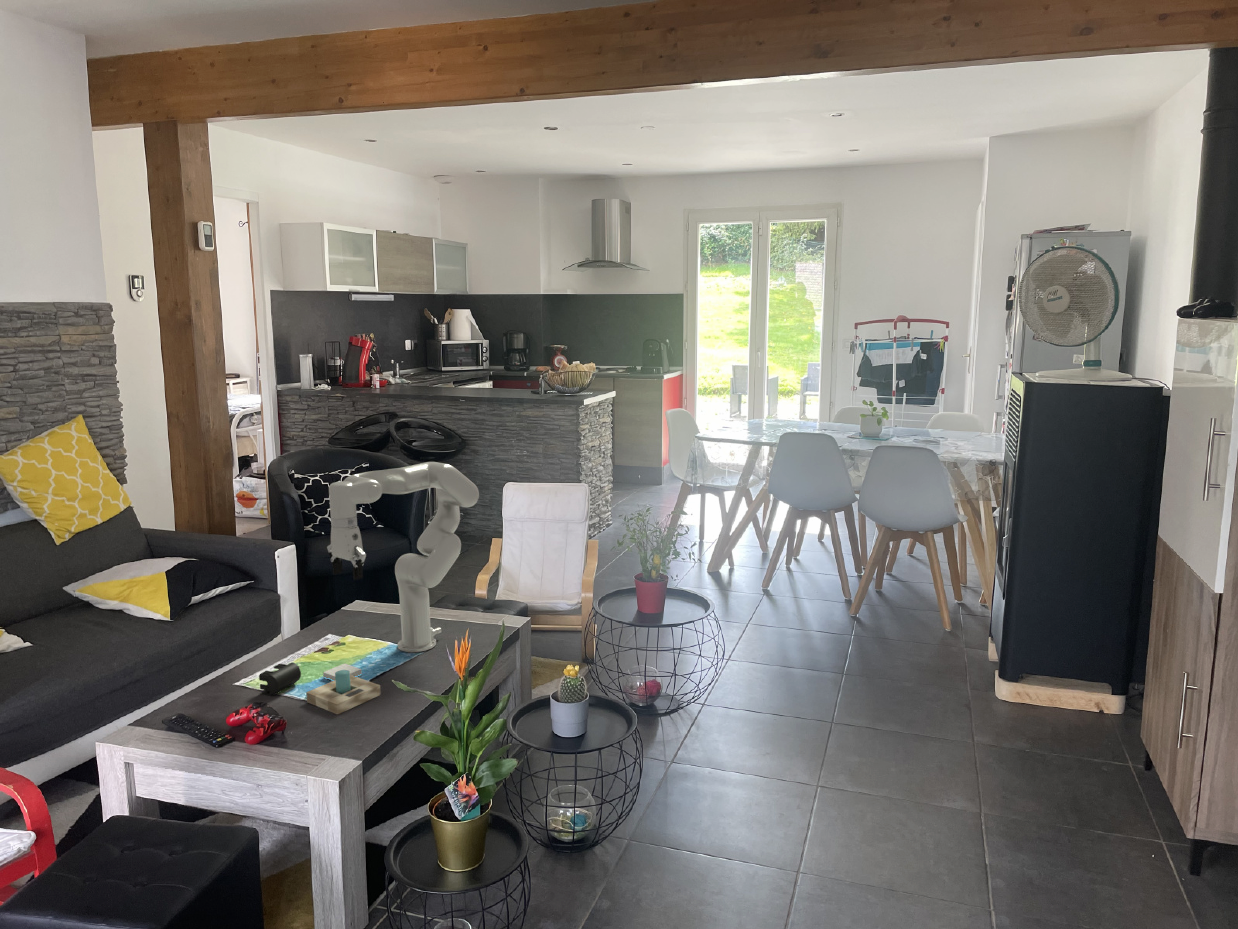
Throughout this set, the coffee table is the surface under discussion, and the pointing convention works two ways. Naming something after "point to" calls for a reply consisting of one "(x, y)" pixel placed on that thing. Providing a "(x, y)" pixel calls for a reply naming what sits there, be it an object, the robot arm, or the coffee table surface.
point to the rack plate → (343, 695)
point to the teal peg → (342, 681)
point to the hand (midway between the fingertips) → (348, 576)
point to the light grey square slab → (351, 669)
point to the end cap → (279, 678)
